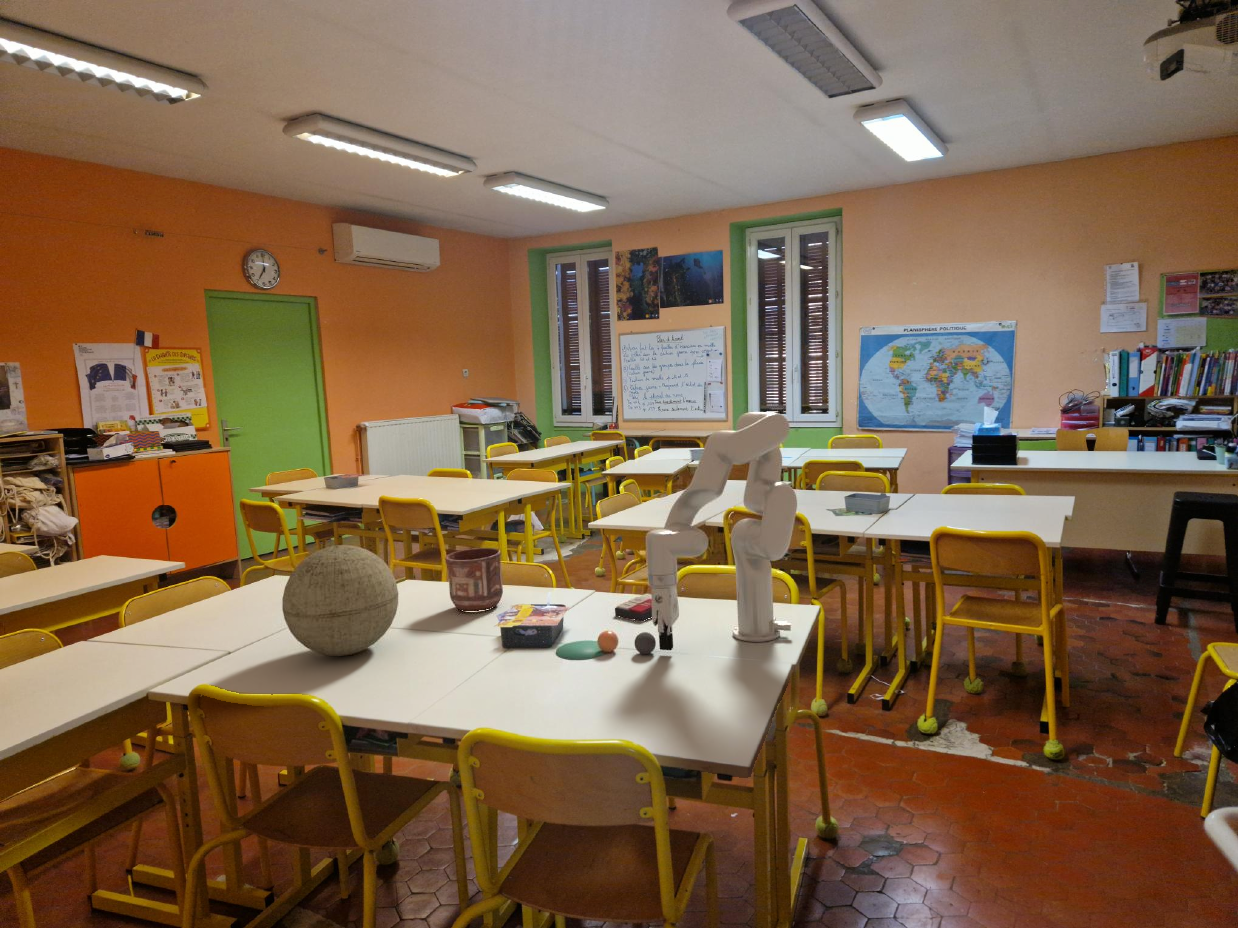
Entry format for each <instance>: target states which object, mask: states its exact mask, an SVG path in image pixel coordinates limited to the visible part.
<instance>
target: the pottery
mask: <svg viewBox="0 0 1238 928" xmlns="http://www.w3.org/2000/svg"><path fill="white" fill-rule="evenodd" d="M501 558H502V555H501V550H499V549H497V548H492V547H476V548H475V547H474V548H468V549H467V548H466V549H462V550H457V551H453V552H451V553H449V554H447V555H446V556H445V557H444V559H445V564H446V569H447V575H448V585H449V587H448V588H449V590H448V591H449V598H450V600H451V602H452V604H453V605H454V606H455V608H457V609H458V611H460V610H463V611H479V610H486V609H490V608H492V607H494V606H496V605H497V606H498V604H499V603H500V602H501V600H502V597H503V593H504V590H503V588H504V587H503V577H502V565H501V564H502V563H501V562H502V560H501ZM497 606H496V607H497Z"/></svg>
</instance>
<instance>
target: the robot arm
mask: <svg viewBox="0 0 1238 928" xmlns="http://www.w3.org/2000/svg"><path fill="white" fill-rule="evenodd" d="M789 434H790V424H789V421H788V419H787V418H786V417H785V416H784V415H783V414H781V413H778V412H772V411H771V412H769V411H768V412H767V411H765V412H764V411H752V412H751V411H749V412H746V413H743V414H741V415H740V416H739V417H738V419H737V421H736V430H724V429H723V430H717V431H714V432H712V433H711V434H710V435H709V436H708V438H707V440H706V443H705V444H704V448H703V450H702V453H701V455H700V458H699V461H698V464H697V467H696V469H695V471H694V474H693V477H692V479H691V482H690V483H689V485H688V486H687V487H686V488H685V489H684V491H683V492H681V494H680V495H679V497H678V498H677V499H676V501H675V502H674V504H673V505H672V506H671V508H670V511H669V513H668V516H667V518H666V521H665V523H664V526H663V528H662V529H659V528H658V529H653V530H650V531H648V532H647V533H646V536H645V547H646V548H645V550H646V564H647V565H646V567H647V585H648V587H650V588H651V594H652V595H651V596H652V618H651V620H652V624H653V625H654V627H656V626H657V632H658V643H659V650H660V651H661V650H662V651H672V650H673V648H674V636H673V625H674V624H675V622H676V621H677V620H678V618H679V616H680V607H679V597H678V590H677V586H678V584H679V578H678V564H677V563H678V562H677V561H678V560H677V558H696V557H700V556H701V555H703V554H704V553H705V552H706V551H707V549H708V547H709V538H708V536H707V534H706V533H705V532H704V531H703V530H702V529H699V528H698V527H694V526H692V524H693V522H694V519H695V518H696V515H697V514H698V513H699V512H700V511H701V510H702V508H704V507H705V506H706V505H708V504H710V503H711V502H713V501H715V500H717V499H718V498H720V497H721V496H722V495H723V493H724V490H725V487H726V485H727V482H728V480H729V477H730V474H731V470H732V469H733V466H734V465H735V466H738V465H739V466H741V465H745V464H749V467H748V473H747V477H746V483H745V487H744V493H743V500H742V501H743V505H744V507H745V509H746V510H747V511H749V512H750V513H753V514H756V515H759V516H762V517H761V520H760V519H756V518H743V519H741V520H738V521H737V522H736V523H735V524H734V526H733V527H732V529H731V534H730V543H731V549H732V552H733V553H732V554H733V557H734V565H735V582H736V584H735V585H736V586H735V587H736V605H737V608H736V609H737V626H735V627H734V628H733V629H732V635H733V637H734V638H735V639H737V640H740V641H744V642H749V643H750V642H752V643H759V642H760V643H761V642H769V641H773V640H776V639H778V638H779V637H780V635H781V631H784V632H786V631H787V632H791V631H792V624H791V623H789V622H788V621H784V620H783V621H781V620H780V621H779V620H778V619H776V618H777V617H776V615H774V598H773V596H774V594H773V570H772V564H771V561H772V562H773V561H774V562H775V561H778V560H781V559H782V558H783V557H784V556H785V555H786V554H787V552H788V549H790V548H789V547H790V544H791V541H792V536H793V531H794V525H795V520H796V514H797V509H798V497H797V494H796V492H795V490H794V488H793V487H792V486H791V485H789V484H788V483H786V482H782V481H781V476H782V468H783V455H782V451H781V448H780V445H782V444H783V443H784V442H785V440H786V439H788V436H789Z"/></svg>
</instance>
